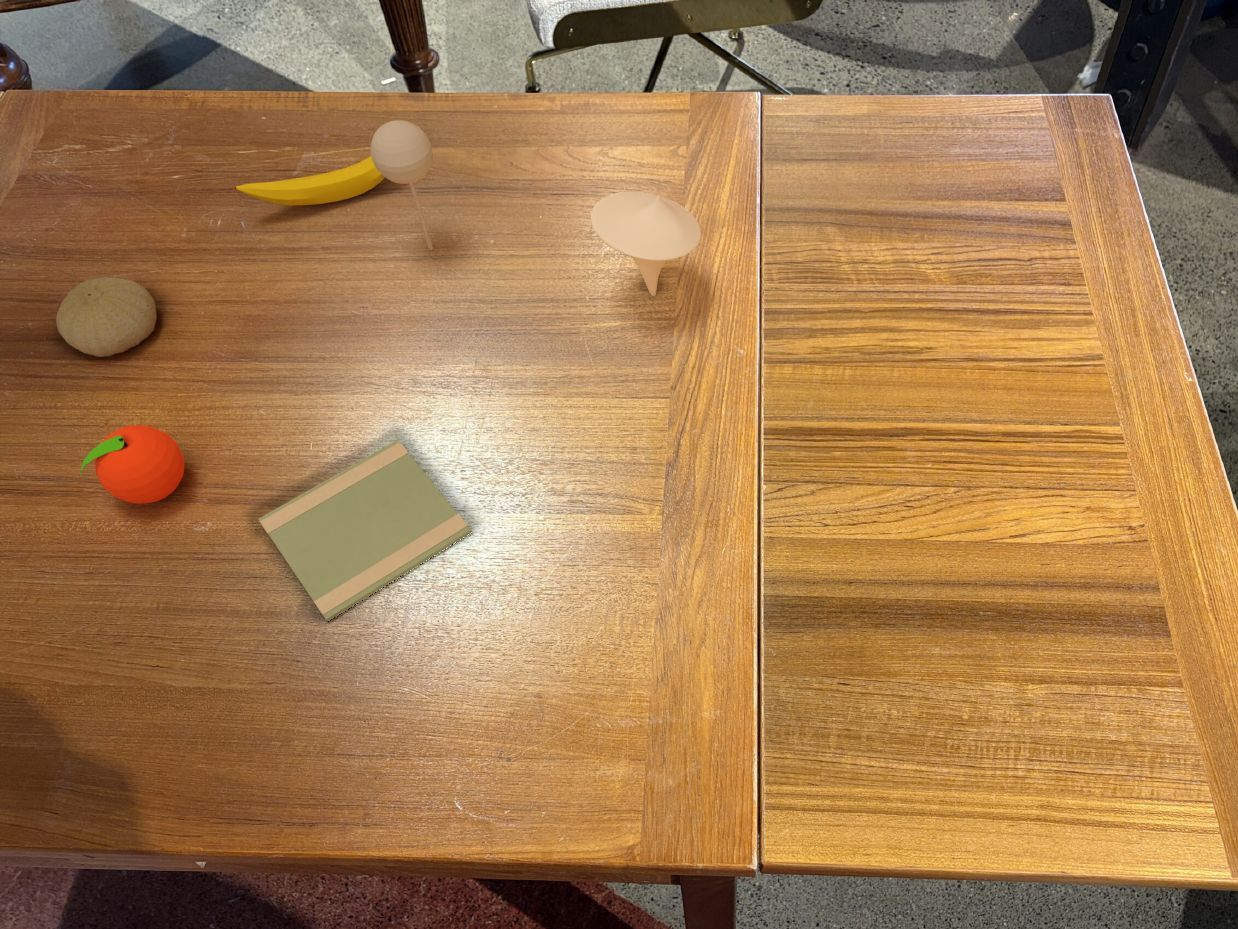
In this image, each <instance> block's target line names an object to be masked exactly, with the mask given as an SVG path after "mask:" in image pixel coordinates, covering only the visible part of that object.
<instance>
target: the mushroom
mask: <svg viewBox="0 0 1238 929" xmlns="http://www.w3.org/2000/svg"><path fill="white" fill-rule="evenodd" d="M590 224H591V227H592V229H593V231H594V233H595V234H596V236H597V237H598V239H600V240H601V241H602V242H603V243H604V244H605V245H607V246H608V247H609V248H611V249H612V250H614V251H616V252H619V253H621V254H623V255H626V256H629V257H630V258H631V259H632V260H633V262H634V263H635V265H636V267H637V268H638V270H639V273H640V274H641V276H642V278H643V281H644V283H645V286H646V288H647V290H648V293H649V295H651V297H656V295H657V291H658V290H657V289H658V281H659V276H660V273H661V271H662V269H663V267H664V265H665V264H666V263H667V261H672V260H676V259H679V258H682V257H685V256H687V255H689V254H690V253H692V252H693V251H694V250H695V249H696V248H697V246H698V245H699V243H700V241H701V237H702V236H701V235H702V234H701V228H700V225H699V223H698V221H697V219H696V218H695V217H694V215H693V214H692V213H691V212H690V211H689V210H688V209H687V208H685V207H684V206H683V205H681V204H679V203H677V202H676V201H674V200H672V199H670V198H668V197H666V196H665V197H664V196H662V195H658V194H655V193H651V192H645V191H635V190H634V191H633V190H631V191H630V190H629V191H621V192H615V193H611V194H609V195H607V196H605V197H603V198H601V199H600V200H598V202H597V203H595V205H594V206H593V208H592V209H591V213H590Z"/></svg>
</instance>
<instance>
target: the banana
mask: <svg viewBox="0 0 1238 929" xmlns="http://www.w3.org/2000/svg"><path fill="white" fill-rule="evenodd" d="M384 179H385V177H384V176H383V175H382V174H381V173H380V172H379V171H378V170H377V168H376V167H375V165H374V163H373V160H372V156H371V155H369V156H368V157H367V158H365V159H363V160H362V161H359V162H358V163H357V162H356V163H355V164H352V165H350V166H347V167H346V166H345V167H344V168H340V169H336V170H332V171H329V172H324V173H318V174H313V175H308V176H302V177H296V178H288V179H281V180H273V181H267V182H253V183H243V184H241V185H236V186H234V188H235V189H236V190H237V191H240V192H241V193H243V194H245V195H246V196H249V197H252V198H255V199H257V200H260V201H264V202H268V203H272V204H276V205H284V206H308V205H309V206H310V205H322V204H327V203H335V202H339V201H340V202H341V201H344V200H348V199H352V198H355V197H357V196H359V195H363V194H364V193H366V192H368V191H370V190H372V189H373V188H375V187H376V186H378V185H379V184H380V183H381V182H382V181H383V180H384Z"/></svg>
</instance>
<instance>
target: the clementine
mask: <svg viewBox="0 0 1238 929" xmlns="http://www.w3.org/2000/svg"><path fill="white" fill-rule="evenodd" d="M92 461H94V468H95V474H96V477H97V478H98V481H99V482H100V484H101V485H102V487H103V488H104V489H105V490H106V491H107V492H108V493H110V494H111V495H112V496H113V497H115V499H119V500H121V501H124V502H126V503H129V504H135V505H136V504H138V505H142V504H151V503H156V502H158V501H161V500H164V499H165V498H167V497H168V496H170V495H171V494H172V493H173V492H174V491H175V490H176V489H177V488H178V486H179V485H180V482H181V481H182V480H183V477H184V472H185V459H184V455H183V452H182V450H181V448H180V446H179V445H178V443H177V441H175V440H174V439H173V438H172V437H171V436H170V435H169V434H167V433H166V432H165V431H162V430H160V429H159V428H155V427H154V426H149V425H142V424H141V425H138V424H133V425H127V426H123V427H120V428H118V429H116V430H113V431H112V432H111V433H110V434H108V435H106V437H105V438H104V439H103V440H102V441H101V442H100V444H98V445H97V446H95V447H94V448H93V449H91V451H90V452H89V453H88V454H87V456H86V457H85V458H84V460H82V464H81V467H80V475H81V477H80V478H81V479H83V470H84V469H85V467H87V465H89V464H90V463H91V462H92Z"/></svg>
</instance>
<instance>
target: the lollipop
mask: <svg viewBox="0 0 1238 929" xmlns="http://www.w3.org/2000/svg"><path fill="white" fill-rule="evenodd" d="M370 156H372V160H373V163H374V165H375V167H376V168H377V170H378V171H379V172H380V173H381V174H382V175H383V176H384V177H385V178H386V179H387V180H389V181H391V182H392V183H396V184H400V185H409V188H410V192H411V195H412V198H413V202H414V205H415V208H416V211H417V215H418V218H419V221H420V225H421V228H422V232H423V234H424V238H425V241H426V244H427V248H428V250H429V251H433V250H434V247H433V243H432V240H431V237H430V234H429V229H428V226H427V223H426V220H425V216H424V213H423V210H422V206H421V203H420V201H419V200H420V199H419V195H418V193H417V190H416V186H415V183H417V182H418V181H421V180H422V179H423V178H425V176H426V175H427V174H428V172H429V171H430V169H431V167H432V164H433V157H434V151H433V146H432V142H431V141H430V139H429V137H428V135H427V134H426V132H424V130H423V129H422V128H420V127H419V126H418V125H416V124H414V123H412V122H410V121H407V120H401V119H396V120H391V121H388V122H385V123H383V124H382V125H380V127H378V128H377V130H376V131H375V133H374V134H373V136H372V139H371V142H370ZM385 178H384V179H385Z"/></svg>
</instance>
